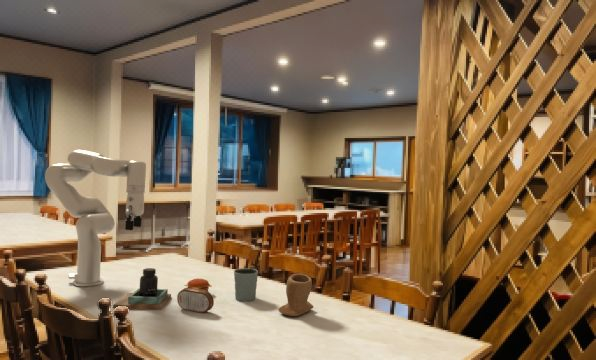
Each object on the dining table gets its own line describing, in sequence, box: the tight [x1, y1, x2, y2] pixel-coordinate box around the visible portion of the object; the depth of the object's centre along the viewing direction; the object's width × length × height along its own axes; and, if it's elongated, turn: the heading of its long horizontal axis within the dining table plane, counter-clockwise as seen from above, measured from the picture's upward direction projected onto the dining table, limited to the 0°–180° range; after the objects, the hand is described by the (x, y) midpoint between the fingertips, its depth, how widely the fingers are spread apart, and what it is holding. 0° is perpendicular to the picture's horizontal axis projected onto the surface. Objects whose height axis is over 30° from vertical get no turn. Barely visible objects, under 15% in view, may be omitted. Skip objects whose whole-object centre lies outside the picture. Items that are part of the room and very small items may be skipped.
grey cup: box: [233, 267, 259, 303], centre depth 183 cm, size 10×10×12 cm
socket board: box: [112, 287, 172, 311], centre depth 173 cm, size 18×16×4 cm
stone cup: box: [277, 273, 314, 317], centre depth 168 cm, size 15×12×15 cm
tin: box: [176, 287, 215, 314], centre depth 166 cm, size 15×3×8 cm, turn 71°
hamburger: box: [183, 278, 213, 292], centre depth 188 cm, size 9×10×7 cm
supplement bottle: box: [139, 267, 159, 297], centre depth 173 cm, size 7×7×12 cm
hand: (133, 228), depth 189 cm, fingers open, 9 cm apart
